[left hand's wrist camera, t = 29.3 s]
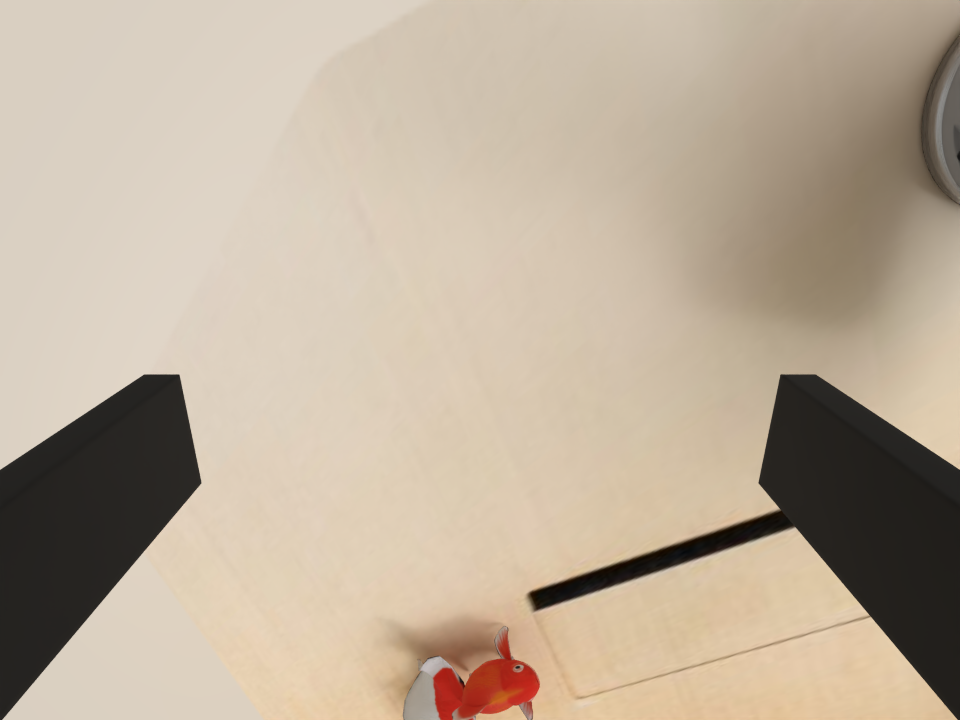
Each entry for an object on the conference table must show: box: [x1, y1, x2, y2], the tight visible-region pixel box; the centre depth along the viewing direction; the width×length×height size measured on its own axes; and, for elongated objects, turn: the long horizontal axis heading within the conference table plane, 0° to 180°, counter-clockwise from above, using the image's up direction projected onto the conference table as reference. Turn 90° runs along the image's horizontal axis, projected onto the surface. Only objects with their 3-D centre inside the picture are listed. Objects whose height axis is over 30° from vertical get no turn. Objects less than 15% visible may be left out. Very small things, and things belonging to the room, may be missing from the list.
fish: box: [403, 626, 540, 720], centre depth 53 cm, size 11×16×10 cm
